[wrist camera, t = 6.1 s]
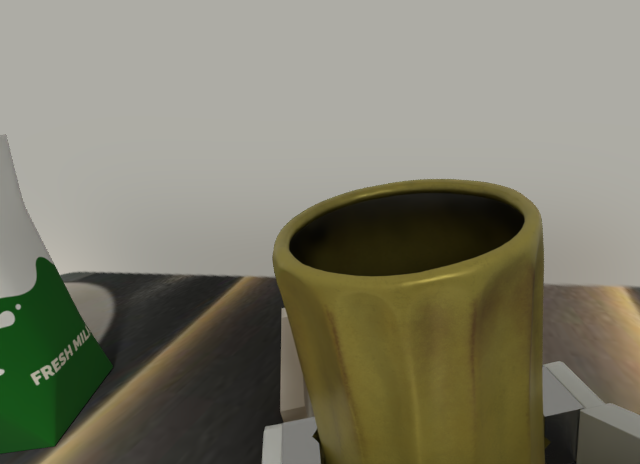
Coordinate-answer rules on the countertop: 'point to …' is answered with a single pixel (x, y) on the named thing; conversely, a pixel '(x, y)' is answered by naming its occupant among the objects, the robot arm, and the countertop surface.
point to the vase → (419, 322)
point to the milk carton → (38, 333)
